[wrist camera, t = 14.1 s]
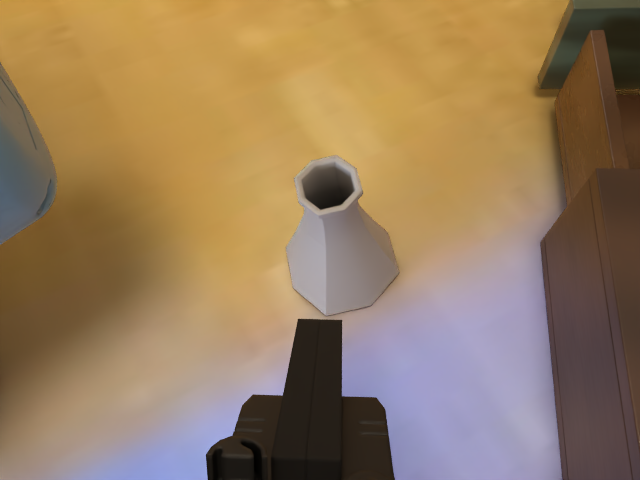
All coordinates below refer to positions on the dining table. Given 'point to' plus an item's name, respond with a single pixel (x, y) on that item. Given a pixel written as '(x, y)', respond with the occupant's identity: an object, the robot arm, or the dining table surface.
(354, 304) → the flask
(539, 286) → the dining table surface
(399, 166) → the dining table surface
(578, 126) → the drawer
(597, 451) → the cabinet
